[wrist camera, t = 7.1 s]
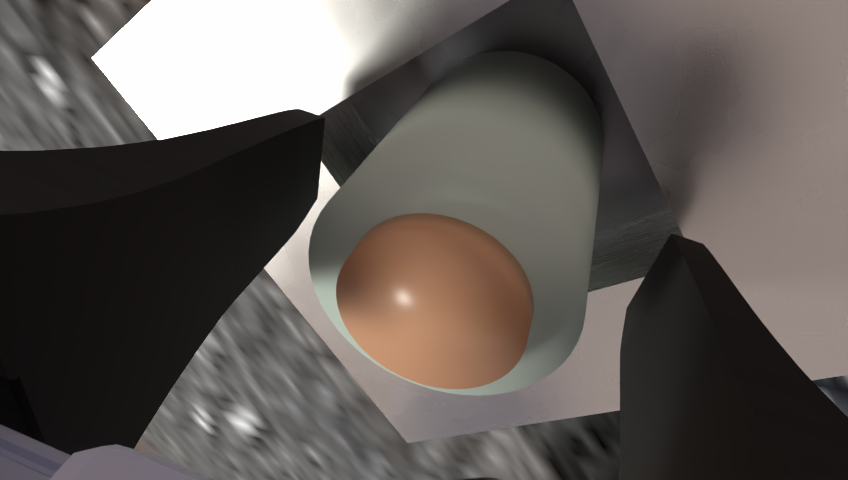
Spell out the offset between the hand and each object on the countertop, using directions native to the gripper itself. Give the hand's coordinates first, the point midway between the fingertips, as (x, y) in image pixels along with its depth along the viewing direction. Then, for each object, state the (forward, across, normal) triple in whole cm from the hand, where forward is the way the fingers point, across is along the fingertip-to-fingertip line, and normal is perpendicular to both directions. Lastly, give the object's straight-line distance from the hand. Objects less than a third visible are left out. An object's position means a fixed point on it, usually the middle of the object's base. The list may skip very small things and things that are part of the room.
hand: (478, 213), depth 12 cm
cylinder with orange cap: (+3, 0, 0) cm, 3 cm away
